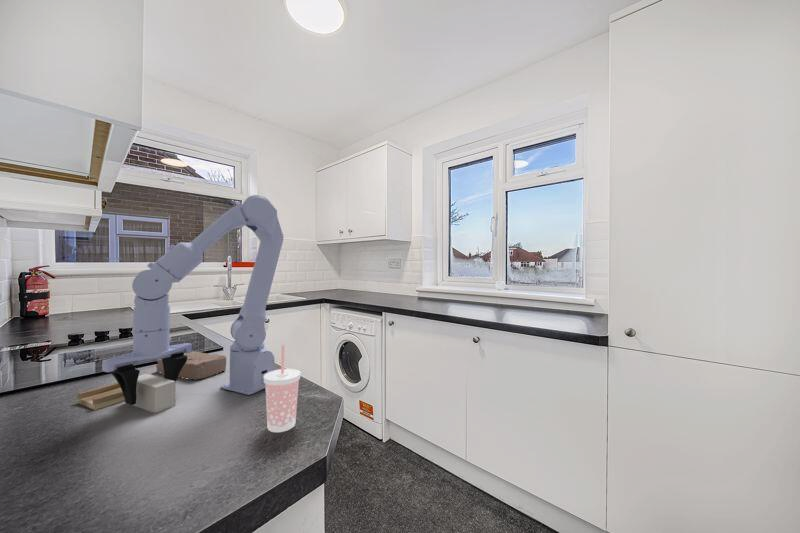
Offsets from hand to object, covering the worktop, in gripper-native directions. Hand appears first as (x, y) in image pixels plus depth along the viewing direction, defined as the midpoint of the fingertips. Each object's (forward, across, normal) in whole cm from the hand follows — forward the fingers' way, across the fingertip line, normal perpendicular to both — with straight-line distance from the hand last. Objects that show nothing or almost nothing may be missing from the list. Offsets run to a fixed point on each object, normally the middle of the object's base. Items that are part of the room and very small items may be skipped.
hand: (150, 397), depth 61 cm
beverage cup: (+2, -5, +30) cm, 30 cm away
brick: (+2, -15, -12) cm, 20 cm away
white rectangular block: (+2, 0, 0) cm, 2 cm away
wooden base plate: (+1, 0, -10) cm, 10 cm away
